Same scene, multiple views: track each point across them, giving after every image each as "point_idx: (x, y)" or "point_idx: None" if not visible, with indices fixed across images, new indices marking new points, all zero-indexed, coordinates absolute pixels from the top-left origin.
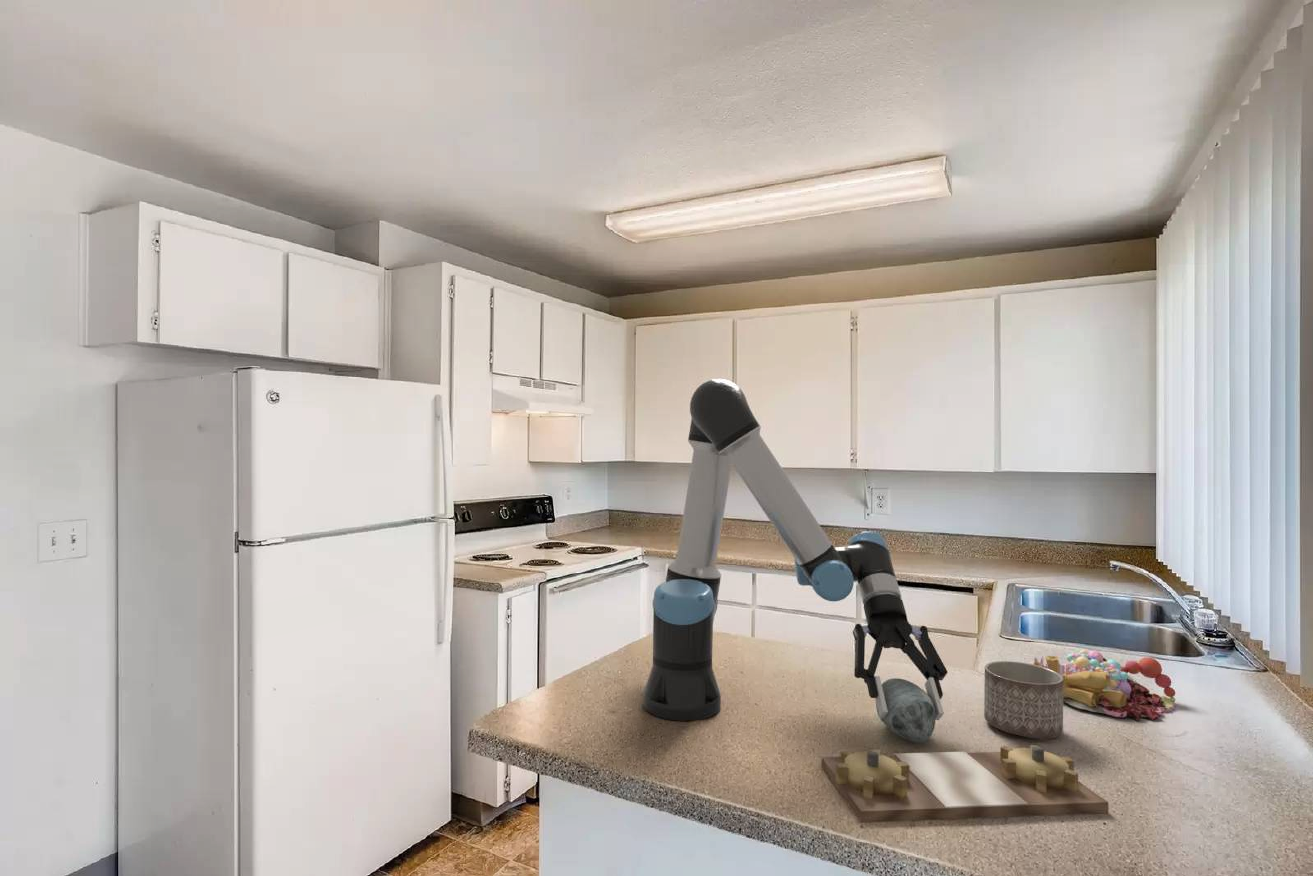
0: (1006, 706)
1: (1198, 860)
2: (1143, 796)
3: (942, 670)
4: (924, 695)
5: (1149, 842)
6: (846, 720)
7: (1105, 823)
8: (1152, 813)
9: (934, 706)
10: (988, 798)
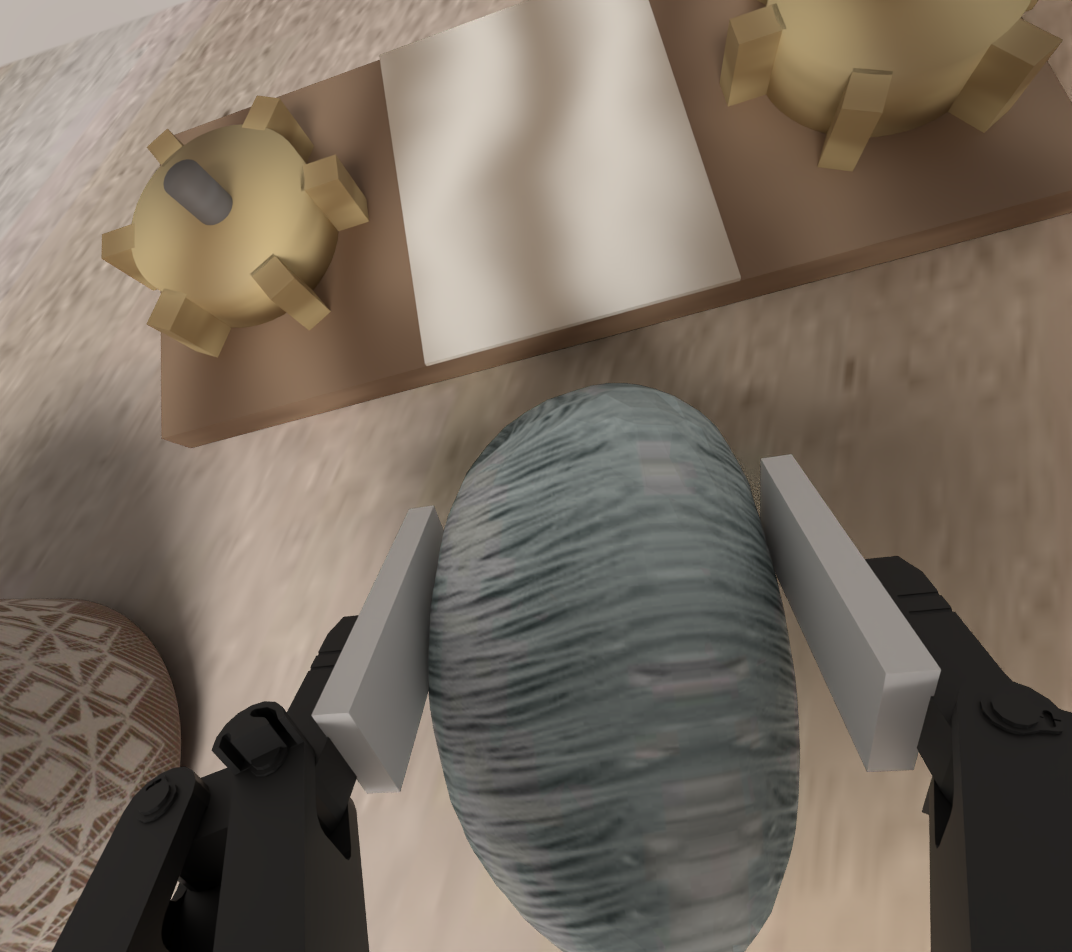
0: (32, 667)
1: (136, 31)
2: (42, 276)
3: (164, 806)
4: (485, 513)
5: (182, 65)
6: None
7: (223, 115)
8: (84, 194)
9: (432, 581)
10: (482, 45)
